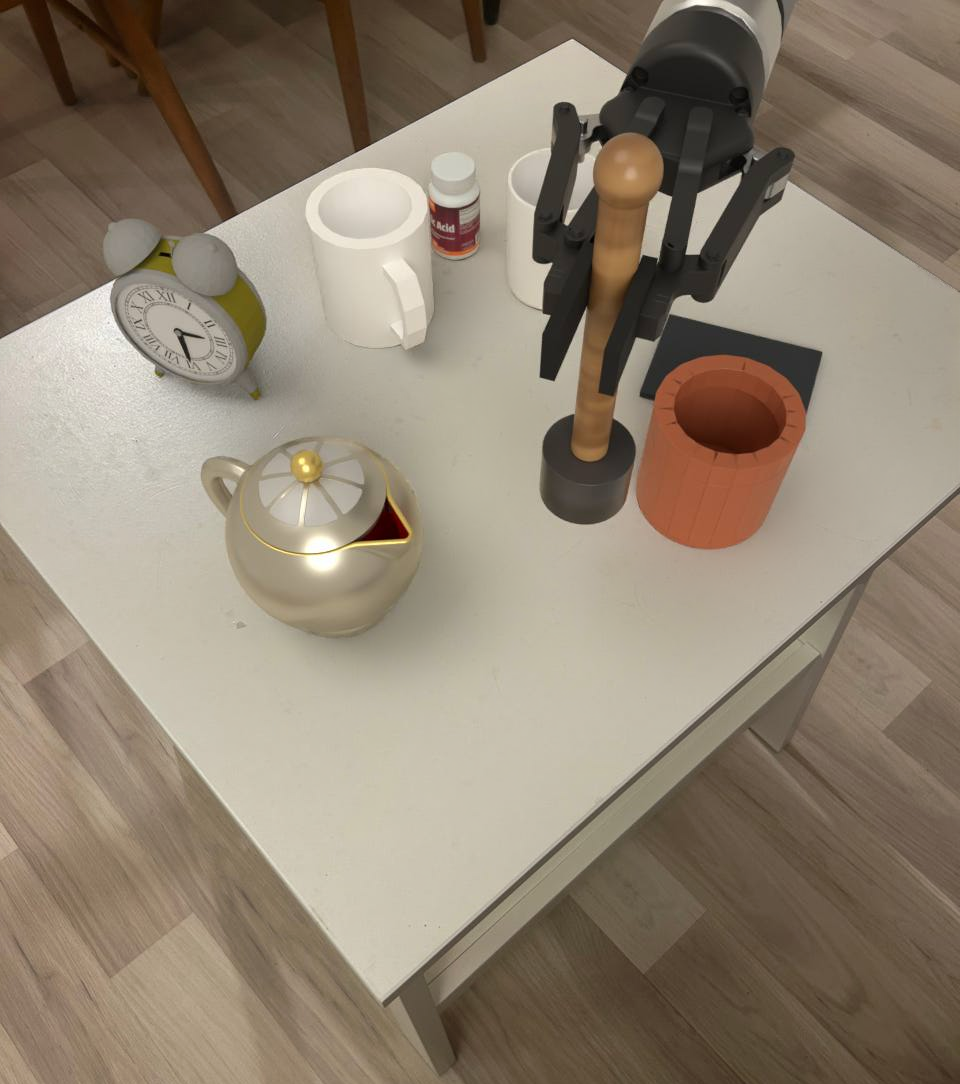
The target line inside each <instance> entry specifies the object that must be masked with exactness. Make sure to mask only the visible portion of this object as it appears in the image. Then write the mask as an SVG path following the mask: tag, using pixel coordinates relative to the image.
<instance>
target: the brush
mask: <svg viewBox="0 0 960 1084" xmlns="http://www.w3.org/2000/svg"><path fill="white" fill-rule="evenodd" d="M595 158H596V160H595V163H594V167H593V182H594V186H595V189H596V191H597V194H598V195H599V205H598V214H597V222H596V231H595V240H594V248H593V257H592V266H591V275H590V283H589V292H588V301H587V307H586V309H585V320H584V327H583V337H582V345H581V352H580V353H581V355H580V362H579V372H578V381H577V390H576V398H575V407H574V413H572V414H569V415H565V416H563V417H561V418H560V419H558V420H557V421H555V422H554V423H552V425H551V426H550V427H549V428H548V429H547V431H546V433H545V435H544V436H543V440H542V444H541V445H542V446H541V459H540V470H539V471H540V473H539V486H538V488H539V495H540V499H541V500H542V503H543V505H544V506H545V508H546V509H547V510H548V511H549V512H550V513H552V515H554V516H555V517H557V519H560V520H562V521H564V522H567V523H570V524H575V525H583V526H585V525H586V526H588V525H589V526H590V525H596V524H600V523H603V522H606V521H608V520H610V519H611V518H613V517H615V516H616V515H617V514H618V513H619V512H620V511H622V509H623V507H624V505H625V504H626V501H627V499H628V495H629V489H630V484H631V480H632V476H633V469H634V466H635V461H636V456H637V446H636V442H635V439H634V437H633V435H632V433H631V432H630V431H629V430H628V428H627V426H625V425H624V424H623V423H621V422H620V421H619V420H617V419H615V418H614V413H615V409H616V402H617V398H618V397H617V396H618V390H619V384H620V383H619V384H618V386H617V389H616V392H615V394H614V397H612V396H608V395H605V394H601V393H598V390H599V383H600V376H601V369H602V362H603V355H604V349H605V347H606V344H607V342H608V339H609V337H610V334H611V332H612V329H613V327H614V324H615V322H616V319H617V317H618V315H619V312H620V310H621V307H622V305H623V302H624V300H625V297H626V295H627V292H628V290H629V287H630V285H631V282H632V280H633V277H634V275H635V272H636V271H637V269H638V266H639V263H640V260H641V253H642V248H643V242H644V236H645V231H646V225H647V218H648V213H649V207H650V202H651V201H652V200H653V199H654V197H655V196H657V194H658V193H659V192H658V190H659V188H660V186H661V183H662V180H663V174H664V164H663V158H662V155H661V153H660V151H659V149H658V147H657V146H656V144H655V143H654V142H653V141H652V140H650V139H649V138H648V137H646V136H644V135H642V134H638V133H623V134H620V135H617V136H615V137H613V138H612V139H610V140H609V141H608V142H607V143H606V144H605V145H604V146H603V147H602V146H601V148H600V150H599V151H598V153H597V155H596V157H595Z"/></svg>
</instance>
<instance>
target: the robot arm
mask: <svg viewBox="0 0 960 1084" xmlns="http://www.w3.org/2000/svg"><path fill="white" fill-rule="evenodd" d="M798 2H799V0H661V3H660V6H658V7H659V8H658V9H657V11H656V12H655V15H654V17H653V19H652V21H651V24H650V25H649V27H648V30H647V31H646V34H645V35H644V38H643V40H642V42H641V45H640V46H639V49H638V50H637V52H636V55H635V57H634V59H633V60H632V63H631V65H630V67H629V69H628V71H627V74H626V76H625V77H624V80H623V82H622V84H621V86H620V89H619V92H618V93H617V95H616V96H614V97H613V98H611V99H609V100H607V101H606V102H605V103H604V104H603V105H602V107H601V108H600V109H599V110H600V111H599V113H590V114H580V115H578V111H577V108H576V106H575V104H574V103H572V102H568V101H560V102H557V103H555V104H554V106H553V109H552V124H551V139H550V140H551V141H550V148H551V157H550V160H549V164H548V167H547V171H546V174H545V178H544V181H543V185H542V188H541V191H540V195H539V198H538V202H537V205H536V209H535V212H534V224H533V244H532V258H533V260H534V261H535V262H536V263H539V264H549V263H553V264H552V266H551V268H550V270H549V272H548V275H547V276H546V279H545V281H544V285H543V302H542V309H543V310H542V315H547V316H549V318H548V321H547V322H546V324H545V327H544V329H543V331H542V334H541V347H540V363H539V364H540V365H539V379H543V380H547V381H551V382H555V381H556V379H557V376H558V375H559V372H560V370H561V368H562V365H563V363H564V360H565V358H566V356H567V353H568V352H569V349H570V346H571V344H572V341H573V339H574V337H575V335H576V332H577V331H578V328H579V326H580V323H581V321H582V319H583V316H584V314H585V313H586V310H587V301H588V292H589V283H590V275H591V266H592V257H593V248H594V240H595V231H596V222H597V214H598V205H599V195H598V194H597V191H596V189H595V186H594V187H593V188H592V190H591V191H590V193H589V194H588V196H587V197H586V199H585V200H584V202H583V203H582V205H581V206H580V208H579V209H578V211H577V212H576V214H575V215H574V217H573V219H572V220H571V222H570V223H569V225H568V226H567V225H565V224H564V223H565V219H566V215H567V211H568V207H569V204H570V200H571V196H572V192H573V189H574V185H575V181H576V176H577V167H578V163H582V162H584V158H585V154H587V153H588V154H589V152H590V151H592V145H593V144H595V142H596V143H597V142H599V144H600V147H601V148H602V147H603V146H604V145H605V144H606V143H607V142H608V141H609V140H610V139H612V138H613V137H615V136H617V135H620V134H623V133H638V134H642V135H644V136H646V137H648V138H649V139H650V140H652V141H653V142H654V143H655V144H656V146H657V147H658V149H659V151H660V153H661V155H662V158H663V164H664V174H663V180H662V183H661V186H660V188H659V190H658V192H657V193H661V194H664V195H665V196H668V197H671V200H670V204H669V209H668V214H667V219H666V223H665V228H664V233H663V237H662V240H661V244H660V245H661V246H660V249H659V250H660V251H659V256H658V257H654V256H650V255H646V254H642V256H641V257H640V261H639V266H638V269H637V271H636V272H635V275H634V277H633V280H632V282H631V285H630V287H629V290H628V292H627V295H626V297H625V300H624V302H623V305H622V307H621V310H620V312H619V315H618V317H617V319H616V322H615V324H614V327H613V329H612V332H611V334H610V337H609V339H608V342H607V344H606V347H605V349H604V355H603V362H602V369H601V376H600V383H599V390H598V393H601V394H605V395H608V396H612V397H614V394H615V392H616V389H617V386H618V387H619V385H618V384H620V381H621V378H622V376H623V373H624V370H625V368H626V365H627V363H628V361H629V358H630V356H631V353H632V350H633V348H634V345H635V342H636V340H637V339H640V340H641V339H642V340H644V341H645V340H646V341H649V342H652V343H653V342H656V341H657V340H658V339H660V338H661V335H662V333H663V330H664V327H665V325H666V322H667V319H668V317H669V314H670V312H671V309H672V306H673V303H674V302H675V301H676V299H678V298H680V297H685V296H690V297H691V298H692V300H694V301H695V302H697V303H700V304H701V303H702V304H707V303H709V302H712V301H713V300H714V299H715V297H716V296H717V294H718V293H719V292H718V291H720V288H721V286H722V285H723V282H724V281H725V279H726V277H727V276H728V274H729V272H730V270H731V269H732V267H733V265H734V263H735V261H736V260H737V257H738V256H739V254H740V252H741V250H742V249H743V247H744V245H745V243H746V241H747V239H748V238H749V236H750V234H751V233H752V231H753V229H754V227H755V225H756V223H757V222H758V220H759V218H760V217H761V216H762V215H763V214H765V213H766V212H767V211H769V210H770V209H772V208H773V207H774V206H776V205H777V204H778V203H780V202H781V201H782V199H783V196H784V193H785V191H786V190H785V189H786V187H787V184H788V180H789V177H790V173H791V170H792V167H793V164H794V161H795V158H796V155H795V152H794V151H793V150H792V149H791V148H789V147H783V146H780V147H775V148H774V149H772V150H770V151H768V153H766V152H765V151H763V150H761V149H760V148H758V147H757V146H755V143H756V135H755V132H754V130H753V128H752V127H753V125H754V121H755V119H756V116H757V114H758V111H759V107H760V104H761V102H762V99H763V95H764V93H765V90H766V88H767V86H768V82H769V80H770V77H771V74H772V71H773V68H774V66H775V62H776V59H777V57H778V54H779V52H780V49H781V43H782V41H783V37H784V34H785V32H786V29H787V26H788V24H789V22H790V19H791V16H792V13H793V11H794V8H795V7H796V6H795V5H796V3H798ZM739 174H741V175H740V179H739V184H738V186H737V187H736V189H735V191H734V192H733V194H732V196H731V198H730V200H729V201H728V203H727V205H726V206H725V208H724V210H723V211H722V213H721V215H720V216H719V218H718V220H717V222H716V223H715V225H714V226H713V229H712V230H711V232H710V234H709V236H708V237H707V238H706V240H705V242H704V244H703V246H702V247H701V249H700V252H699V253H698V254H687V249H688V245H689V239H690V234H691V229H692V223H693V218H694V214H695V209H696V205H697V204H696V203H697V198H698V194H700V193H702V192H704V191H706V190H708V189H711V188H712V187H714V186H717V185H718V184H721V183H723V182H724V181H726V180H728V179H730V178H732V177H735V176H737V175H739Z"/></svg>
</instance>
